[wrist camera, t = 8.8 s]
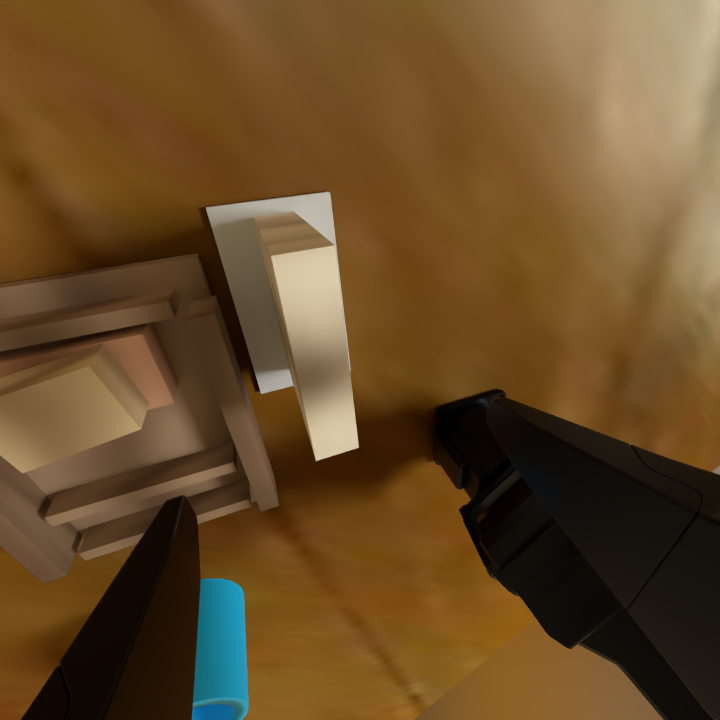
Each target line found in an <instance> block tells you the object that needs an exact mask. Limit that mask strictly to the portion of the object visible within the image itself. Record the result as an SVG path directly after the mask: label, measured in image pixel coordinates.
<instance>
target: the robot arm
mask: <svg viewBox="0 0 720 720" xmlns="http://www.w3.org/2000/svg"><path fill="white" fill-rule="evenodd" d="M433 455H434V462H435V463H436V464H437V465H441V466H442V468H443V469H444V471H445V472H446V474H447V475H448V477H449V478H450V479H451V481H452V482H453V484H454V485H455V487H456V488H457V489H459V490H461V489H464V490H465V491H466V493H467V494H468V496H469V497H470V498H471V501H470V502H468V503H467V504H466V505H463V506H462V507H461V508H460V509H459V511H460V513H461V515H462V517H463V521H464V523H465V526H466V528H467V530H468V532H469V534H470V536H471V538H472V540H473V543H474V545H475V547H476V549H477V551H478V553H479V555H480V557H481V560H482V562H483V564H484V566H485V567H486V569H487V572H488V574H489V575H490V576H491V577H492V578H493V579H496V580H498V581H499V582H500V583H501V584H502V585H503V586H504V587H505V588H506V589H507V590H508V591H509V592H511V593H512V594H514V595H516V596H520V597H521V599H522V600H523V601H524V602H525V604H526V605H527V606H528V608H529V609H530V611H531V612H532V613H533V615H534V616H535V618H536V619H537V620H538V622H539V623H540V625H541V626H542V627H543V629H544V630H545V632H546V633H547V634H548V635H549V636H550V637H552V638H553V639H555V640H556V641H558V642H559V643H561V644H562V645H563V646H565V647H567V648H569V649H572V648H573V647H574V646H576V645H577V644H579V645H580V646H582V647H584V648H586V649H588V650H590V651H592V652H594V653H596V654H597V655H599V656H601V657H603V658H605V659H607V660H609V661H611V662H612V663H614V664H616V665H617V666H618V667H619V668H621V670H622V671H623V672H624V673H625V674H626V676H627V677H628V678H629V679H630V680H631V681H632V683H633V684H634V685H635V686H636V687H637V689H638V690H639V691H640V692H641V693H642V694H643V696H644V697H645V698H646V699H647V700H648V701H649V702H650V704H651V705H652V706H653V707H654V709H655V710H656V711H657V712H658V713H659V715H660V716H661V717H662V718H663V719H664V720H720V475H719V474H715V473H713V472H709V471H706V470H703V469H700V468H697V467H694V466H691V465H688V464H685V463H682V462H678V461H675V460H672V459H669V458H667V457H664V456H661V455H658V454H655V453H653V452H650V451H647V450H644V449H642V448H639V447H637V446H634V445H629V444H628V443H626V442H623V441H620V440H618V439H615V438H612V437H610V436H607V435H604V434H602V433H599V432H596V431H594V430H591V429H588V428H586V427H583V426H580V425H578V424H575V423H572V422H570V421H567V420H564V419H562V418H559V417H556V416H554V415H551V414H548V413H546V412H543V411H540V410H538V409H535V408H532V407H530V406H527V405H524V404H522V403H519V402H516V401H514V400H511V399H508V398H506V393H505V392H504V391H503V390H497V391H493V392H490V393H487V394H483V395H480V396H477V397H473V398H470V399H467V400H463V401H460V402H457V403H453V404H450V405H447V406H443V407H440V408H439V409H438V410H437V411H436V419H435V432H434V436H433ZM199 602H200V558H199V539H198V521H197V516H196V513H195V512H194V510H193V508H192V506H191V504H190V503H189V501H188V499H187V497H186V496H184V495H180V496H177V497H173V498H170V499H168V500H166V501H165V503H164V504H163V505H162V507H161V508H160V510H159V512H158V513H157V515H156V516H155V518H154V519H153V521H152V522H151V524H150V525H149V527H148V528H147V530H146V531H145V533H144V534H143V536H142V537H141V539H140V540H139V542H138V543H137V545H136V546H135V548H134V550H133V551H132V553H131V554H130V556H129V557H128V559H127V560H126V562H125V563H124V565H123V566H122V568H121V569H120V571H119V572H118V574H117V575H116V577H115V578H114V580H113V581H112V583H111V585H110V586H109V588H108V589H107V591H106V592H105V594H104V595H103V597H102V598H101V600H100V601H99V603H98V604H97V606H96V607H95V609H94V610H93V612H92V613H91V615H90V616H89V618H88V619H87V621H86V623H85V624H84V626H83V627H82V629H81V630H80V632H79V633H78V635H77V636H76V638H75V639H74V641H73V642H72V644H71V645H70V647H69V648H68V650H67V651H66V653H65V654H64V656H63V657H62V659H61V661H60V666H57V667H56V668H55V669H54V671H53V672H52V674H51V675H50V677H49V679H48V680H47V682H46V683H45V685H44V686H43V688H42V689H41V691H40V692H39V694H38V695H37V697H36V698H35V699H34V701H33V702H32V704H31V705H30V707H29V708H28V710H27V711H26V713H25V714H24V716H23V717H22V719H21V720H192V710H193V695H194V680H195V664H196V649H197V633H198V618H199Z"/></svg>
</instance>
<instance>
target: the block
mask: <svg viewBox="0 0 720 720" xmlns="http://www.w3.org/2000/svg"><path fill="white" fill-rule="evenodd" d="M254 221H255V225H256V229H257V234H258V238H259V242H260V247H261V251H262V255H263V259H264V264H265V268H266V272H267V277H268V281H269V285H270V290H271V294H272V298H273V302H274V307H275V311H276V315H277V320H278V324H279V328H280V333H281V337H282V341H283V345H284V350H285V354H286V358H287V363H288V367H289V371H290V374H291V378H292V381H293V384H294V388H295V391H296V395H297V398H298V401H299V405H300V408H301V412H302V415H303V418H304V422H305V425H306V429H307V432H308V435H309V439H310V442H311V446H312V449H313V453H314V456H315V459H316V461H318V460H321V459H324V458H327V457H331V456H334V455H337V454H340V453H344V452H347V451H350V450H353V449H356V448H359V444H358V435H357V427H356V419H355V410H354V402H353V393H352V385H351V376H350V368H349V360H348V351H347V343H346V334H345V326H344V317H343V309H342V301H341V292H340V284H339V275H338V267H337V258H336V250H335V245H334V244H333V243H332V242H330V241H329V240H328V239H327V238H325V237H324V236H323V235H322V234H321V233H319V232H318V231H317V230H316V229H315V228H313V227H312V226H311V225H310V224H309V223H307V222H306V221H305V220H304V219H303V218H301V217H300V216H299V215H298V214H297V213H295V212H294V211H293V212H286V213H279V214H271V215H264V216H257V217H254Z"/></svg>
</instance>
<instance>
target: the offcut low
mask: <svg viewBox="0 0 720 720" xmlns="http://www.w3.org/2000/svg"><path fill="white" fill-rule="evenodd" d="M101 344H105V346H106V347H107V348H108V350H109V351H110V352H111V354H112V355H113V356H114V358H115V359H116V360H117V361H118V363H119V364H120V365H121V367H122V368H123V369H124V371H125V372H126V373H127V375H128V376H129V377H130V379H131V380H132V381H133V383H134V384H135V385H136V386H137V388H138V389H139V390H140V392H141V393H142V394H143V396H144V397H145V398H146V400H147V401H148V402H149V406H148V409H147V410H149V409H153V408H158V407H162V406H166V405H170V404H174V403H175V400H176V395H177V390H178V386H179V381H178V378H177V376H176V374H175V372H174V369H173V367H172V365H171V363H170V361H169V358H168V356H167V354H166V352H165V349H164V347H163V345H162V343H161V340H160V338H159V336H158V334H157V332H156V329H155V327H154V325H153V323H152V322H150V323H145V324H140V325H135V326H130V327H125V328H119V329H114V330H109V331H104V332H99V333H94V334H89V335H83V336H78V337H73V338H68V339H63V340H58V341H53V342H47V343H42V344H37V345H32V346H27V347H22V348H16V349H11V350H6V351H1V352H0V378H1V377H4V376H7V375H10V374H13V373H16V372H19V371H23V370H26V369H29V368H32V367H35V366H38V365H41V364H44V363H47V362H50V361H53V360H56V359H59V358H62V357H65V356H68V355H71V354H74V353H77V352H80V351H83V350H86V349H89V348H92V347H95V346H98V345H101Z"/></svg>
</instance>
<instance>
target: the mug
mask: <svg viewBox="0 0 720 720" xmlns="http://www.w3.org/2000/svg"><path fill="white" fill-rule="evenodd" d="M248 707H249V703H248V679H247V654H246V630H245V606H244V592H243V590H242V588H241V586H239V585H238V584H236V583H234V582H233V581H229V580H225V579H201V580H200V602H199V618H198V633H197V649H196V664H195V680H194V695H193V710H192V720H242V719H243V718H244V717H245V715H246V714H247V711H248Z"/></svg>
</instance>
